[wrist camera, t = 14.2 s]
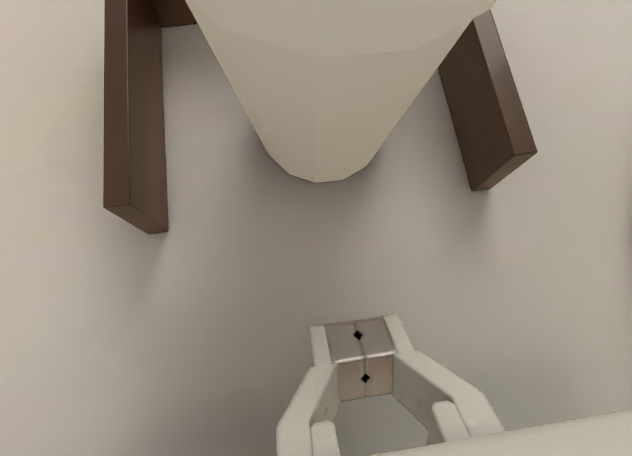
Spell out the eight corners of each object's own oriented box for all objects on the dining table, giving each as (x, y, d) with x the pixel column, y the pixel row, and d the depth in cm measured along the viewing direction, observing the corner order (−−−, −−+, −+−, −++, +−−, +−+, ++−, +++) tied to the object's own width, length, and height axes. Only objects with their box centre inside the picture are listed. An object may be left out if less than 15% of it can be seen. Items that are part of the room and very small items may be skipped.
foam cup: (396, 46, 21) (531, -386, 8) (427, 201, 18) (685, -77, 6) (226, 59, 20) (94, -378, 8) (235, 219, 18) (65, -38, 5)
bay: (147, 234, 18) (102, 207, 14) (142, 14, 21) (104, -56, 17) (490, 189, 19) (538, 152, 15) (432, -14, 22) (459, -87, 18)
